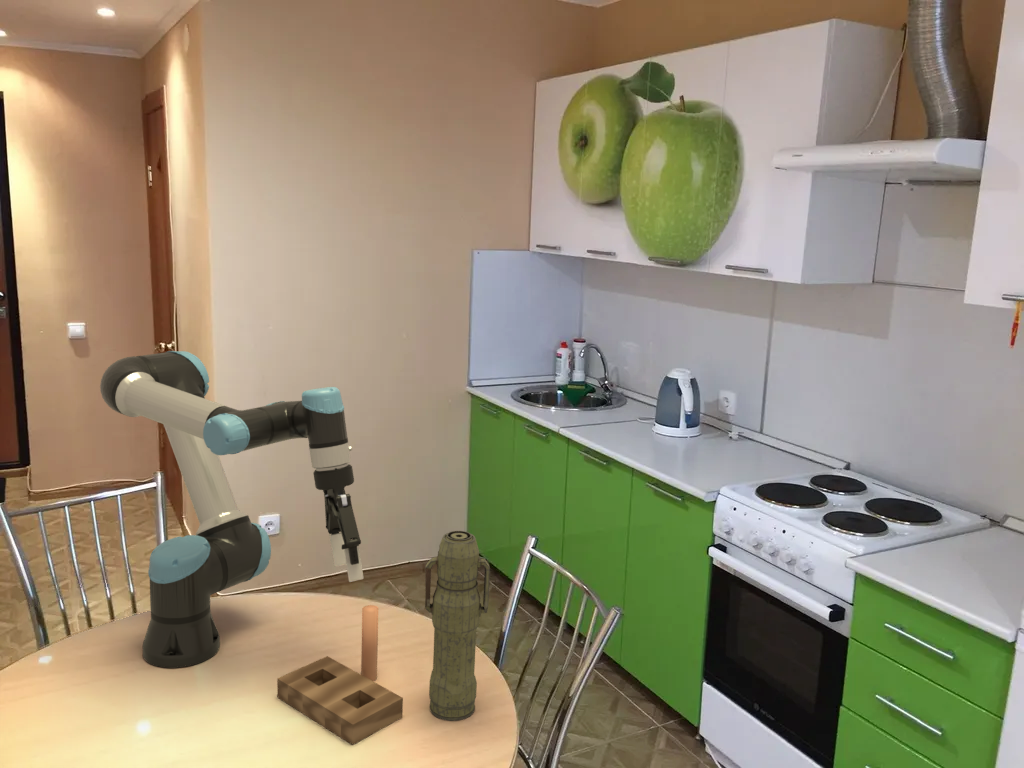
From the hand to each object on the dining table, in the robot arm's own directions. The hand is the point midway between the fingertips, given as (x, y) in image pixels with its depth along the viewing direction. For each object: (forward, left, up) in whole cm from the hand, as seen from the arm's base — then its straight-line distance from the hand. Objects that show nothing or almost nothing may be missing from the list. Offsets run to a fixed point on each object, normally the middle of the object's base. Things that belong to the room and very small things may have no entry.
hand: (348, 572), depth 173 cm
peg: (+3, +3, -22) cm, 23 cm away
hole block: (+7, -8, -22) cm, 25 cm away
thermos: (+23, +7, -23) cm, 33 cm away
